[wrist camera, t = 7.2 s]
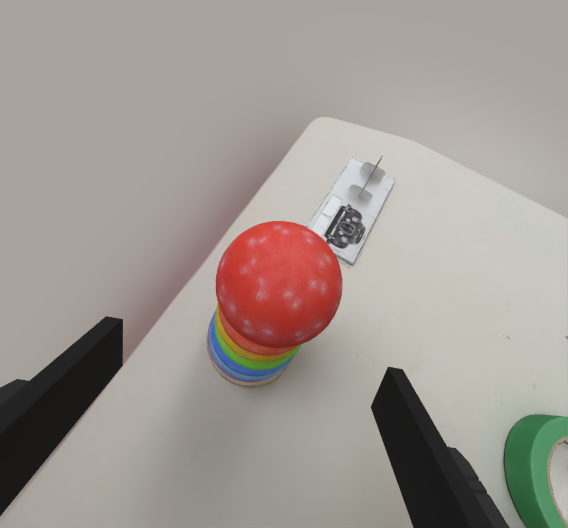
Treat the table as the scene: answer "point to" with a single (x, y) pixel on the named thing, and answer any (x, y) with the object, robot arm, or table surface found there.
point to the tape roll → (535, 468)
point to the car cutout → (351, 208)
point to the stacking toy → (271, 300)
